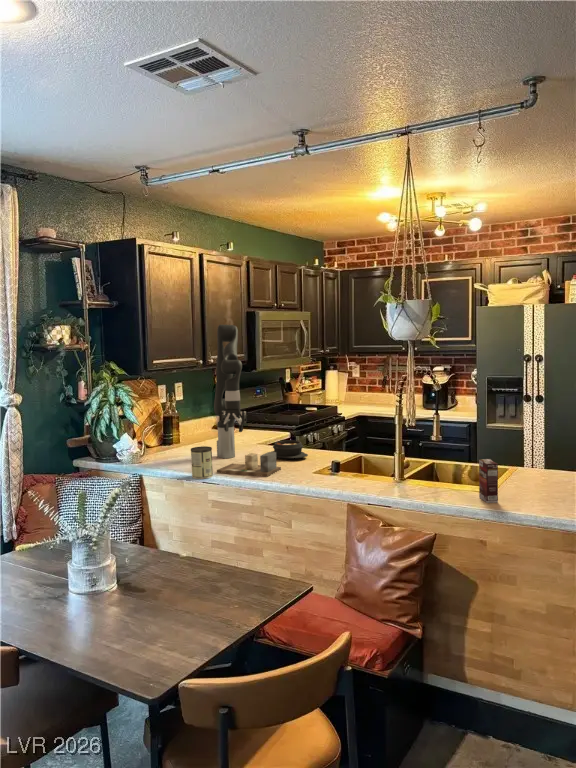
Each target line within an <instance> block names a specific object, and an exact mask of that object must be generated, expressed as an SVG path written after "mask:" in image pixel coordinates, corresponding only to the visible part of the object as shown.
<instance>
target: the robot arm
mask: <svg viewBox="0 0 576 768" xmlns="http://www.w3.org/2000/svg"><path fill="white" fill-rule="evenodd" d="M216 334H217V335H216V338H217V339H216V341H217V342H216V345H217V346H216V348H217V349H216V350H217V356H216V366H215V367H216V368H215V369H216V371H215V392H214V393H215V395H214V401H213V411H214V414H215V415H216V416H220V420H219V421H218V422H217V440H216V458H219V459H232V457H233V458H235V457H236V449H235V421H236V422H237V423H238V432H239V433H242V432H243V430H244V424H247V421H248V420H247V411H245V410H244V411H242V410H241V393H240V392H241V391H240V378H241V374H242V369H243V363H242V361H241V360H240V359H238V341H239V330H238V327H237V326H236V325H234V324H219V325H218V326H217V330H216ZM225 342H226V343H227V344H226V345H225V346H224V343H225ZM224 392H225V393H224ZM223 395H224V398H223Z"/></svg>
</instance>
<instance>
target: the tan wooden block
mask: <svg viewBox="0 0 576 768" xmlns="http://www.w3.org/2000/svg"><path fill="white" fill-rule="evenodd" d="M258 461H259V460H258V453H256V452H255V453H253V452H251V453H250V452H249V453H247V454H245V455H244V464H245V470H247V469H249V470H253V469H255V468H257V467H258V465H259V464H258Z"/></svg>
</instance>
